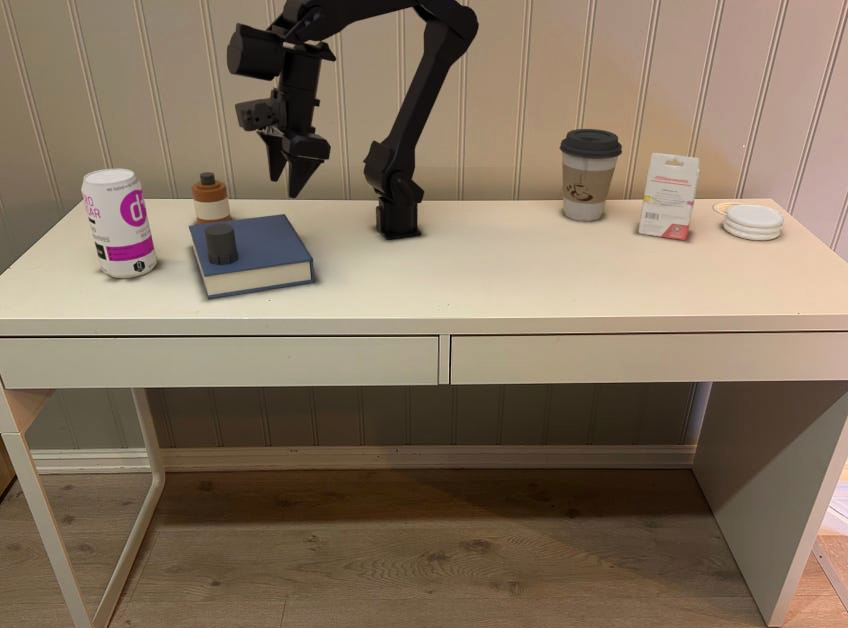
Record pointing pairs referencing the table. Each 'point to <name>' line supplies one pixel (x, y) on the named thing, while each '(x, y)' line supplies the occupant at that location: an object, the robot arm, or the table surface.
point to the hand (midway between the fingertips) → (282, 189)
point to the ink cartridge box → (669, 196)
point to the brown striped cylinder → (210, 200)
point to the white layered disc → (753, 222)
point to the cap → (221, 244)
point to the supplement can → (119, 222)
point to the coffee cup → (588, 171)
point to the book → (255, 257)
